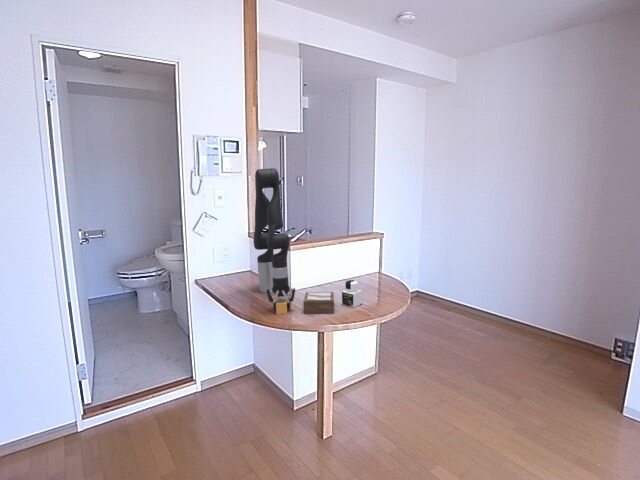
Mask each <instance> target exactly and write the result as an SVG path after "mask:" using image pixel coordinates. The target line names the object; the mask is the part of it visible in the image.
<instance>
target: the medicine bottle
mask: <svg viewBox="0 0 640 480" xmlns="http://www.w3.org/2000/svg"><path fill="white" fill-rule="evenodd" d="M362 295H363V292H362V289H359V282H358V281H357V280H354V279H351V280H346V281H345V290H342V291H341V302H342V304H341V305H343V306H345V307H349V308H356V307H358V306H360V304H361V305H362V304H363V298H362V297H363V296H362Z"/></svg>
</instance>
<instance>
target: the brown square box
mask: <svg viewBox="0 0 640 480" xmlns="http://www.w3.org/2000/svg"><path fill="white" fill-rule="evenodd" d="M334 293H335V292H334V291H322V292H321V291H317V292H315V291H314V292H312V291H311V292H310V291H309V292H308V291H307V292H305V294H304V297H303V298H304V299H303V314H304V315H324V314H325V315H327V314H328V315H329V314H335V296H334Z"/></svg>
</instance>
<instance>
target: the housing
mask: <svg viewBox="0 0 640 480" xmlns="http://www.w3.org/2000/svg"><path fill="white" fill-rule="evenodd" d="M275 314H276V315H287V314H288V310H287V301H286V299H285V298H281V297H277V300H276V310H275Z"/></svg>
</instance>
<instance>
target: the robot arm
mask: <svg viewBox="0 0 640 480" xmlns="http://www.w3.org/2000/svg"><path fill="white" fill-rule="evenodd" d="M279 174H280V173H279V171H278V170H277V168H273V167H272V168H258V169H256V171H255V173H254V178H255V179H254V184H255V203H254V204H255V205H254V206H255V207H254V231H253V247H254V249H255V250H258V251H259V250H260V251H261V250H266V251H264V252H263V253H261V254H260V255H258V256H257V276H258V291H259V293H263V294H264V293H265V294H266V295H267V298H268V301H269V302H270V303H273V304H272V305H273V309H274V311H276V300H277V298H281V296H282V297H285V299H286V301H287V311H289V310H290V309H291V303H292V302H294V299H295V295H296V294H295V293H296V288H295V287H294V288H293V287H292V288H290V285H289V283H290V282H289V269H288V252H289V247H290V243H291V239H290V236H289V235H288V234H287V233H276V234H275V232H276V231H279V230H281V229H282V228H283V227H284V221H283V215H282V208H281V186H280V185H281V183H280V175H279ZM270 188H272V196H271V199H269V198H268V197H267V196H266V194H265V193H264V191H263V189H270ZM266 227H268V229H267V230H268V232H263V231H264V230H265V228H266ZM275 250H280V251H279V252H277V253H274V251H275ZM289 292H290V293H291V297H290V296H289ZM272 293H273V294H274V297H273V296H272ZM289 298H290V299H289Z"/></svg>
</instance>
